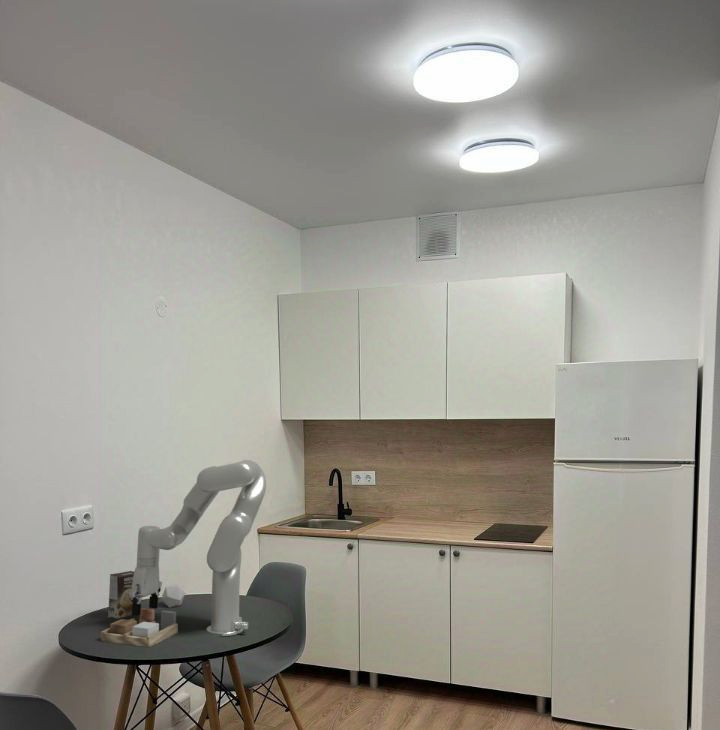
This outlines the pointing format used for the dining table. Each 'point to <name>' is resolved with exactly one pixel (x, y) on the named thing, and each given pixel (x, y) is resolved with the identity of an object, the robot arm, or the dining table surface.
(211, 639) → the dining table surface
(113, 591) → the coffee box
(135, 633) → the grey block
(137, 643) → the lane shelf
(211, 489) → the robot arm
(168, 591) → the die
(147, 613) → the walnut block
